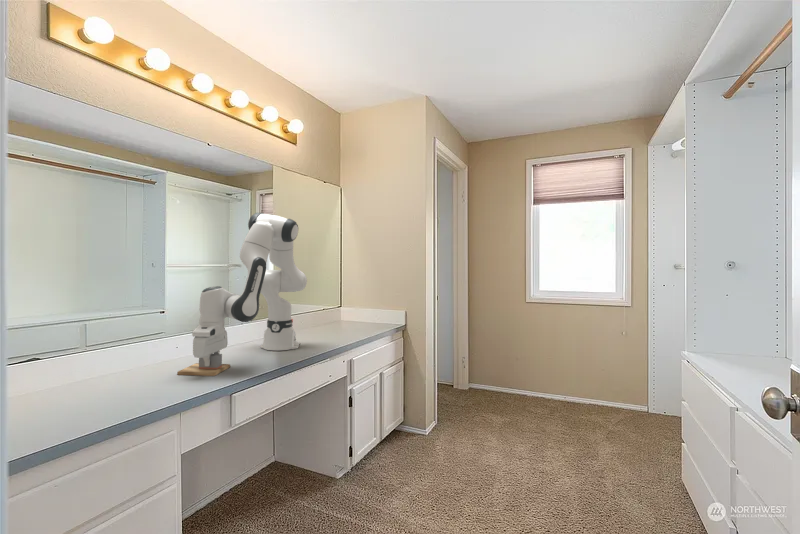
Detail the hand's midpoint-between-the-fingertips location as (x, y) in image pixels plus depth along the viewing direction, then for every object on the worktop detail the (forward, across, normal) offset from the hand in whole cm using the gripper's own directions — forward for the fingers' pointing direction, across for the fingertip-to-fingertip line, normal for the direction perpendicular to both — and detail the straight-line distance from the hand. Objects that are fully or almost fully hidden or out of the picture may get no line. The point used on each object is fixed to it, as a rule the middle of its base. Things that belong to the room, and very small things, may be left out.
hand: (211, 364), depth 157 cm
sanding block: (+1, 0, 0) cm, 1 cm away
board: (+3, 0, -2) cm, 4 cm away
